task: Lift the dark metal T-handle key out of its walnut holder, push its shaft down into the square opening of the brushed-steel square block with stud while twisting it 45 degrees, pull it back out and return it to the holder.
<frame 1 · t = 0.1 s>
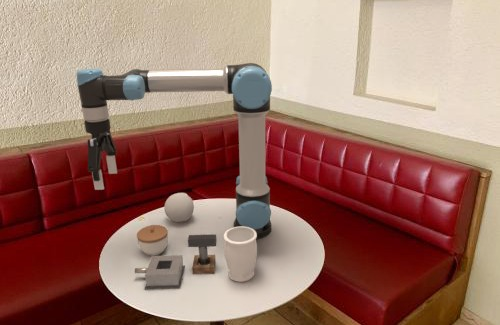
hand: (106, 180, 127), 28 cm above the table, fingers open, 13 cm apart
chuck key: (204, 267, 127), resting in key stand
square block with stud: (165, 277, 122), on the table
key stand: (204, 267, 127), on the table
jar: (241, 274, 124), on the table
lidded jar: (154, 251, 137), on the table
decorative ball: (180, 220, 158), on the table
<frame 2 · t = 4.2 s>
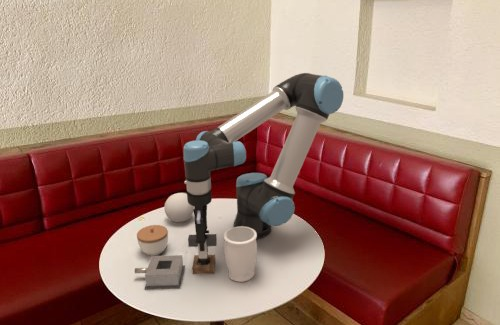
hand: (203, 254, 126), 5 cm above the table, fingers closed on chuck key, 3 cm apart
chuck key: (204, 267, 127), resting in key stand, touching gripper
everything else where it was.
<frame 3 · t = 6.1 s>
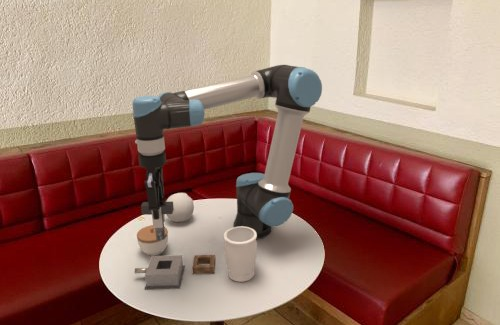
hand: (159, 224, 115), 20 cm above the table, fingers closed on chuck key, 3 cm apart
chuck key: (160, 238, 117), point 15 cm above the table, touching gripper
everything else where it was.
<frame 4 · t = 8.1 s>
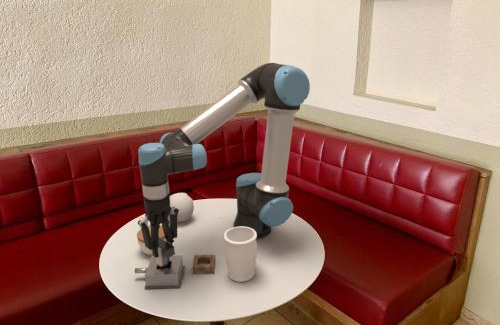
hand: (164, 261, 120), 6 cm above the table, fingers closed on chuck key, 3 cm apart
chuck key: (165, 274, 122), point 1 cm above the table, touching gripper
everything else where it was.
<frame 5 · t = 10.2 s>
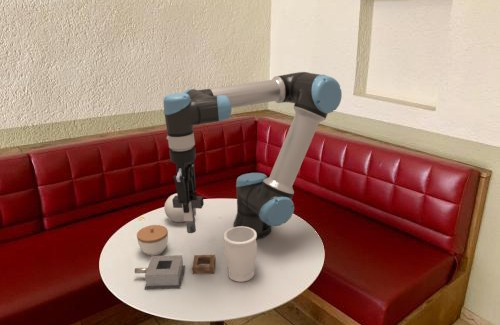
hand: (190, 217, 119), 20 cm above the table, fingers closed on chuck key, 3 cm apart
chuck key: (191, 230, 121), point 15 cm above the table, touching gripper
everything else where it was.
when the fingers open (6 cm above the table, at t = 12.3 s): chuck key drops 1 cm, resting in key stand.
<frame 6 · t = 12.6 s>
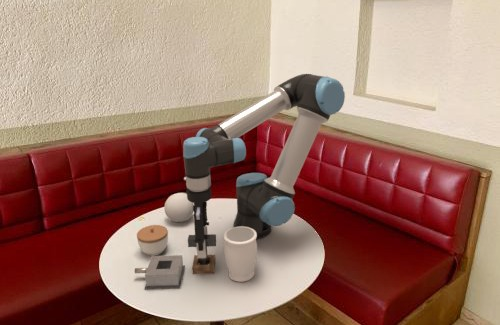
hand: (203, 250, 125), 7 cm above the table, fingers open, 7 cm apart
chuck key: (204, 267, 127), resting in key stand
everything else where it was.
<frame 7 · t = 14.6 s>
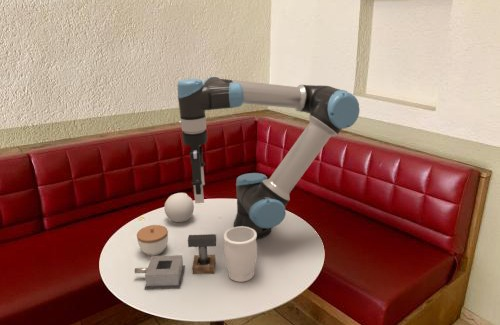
hand: (200, 193, 123), 25 cm above the table, fingers open, 13 cm apart
nothing on the table moved.
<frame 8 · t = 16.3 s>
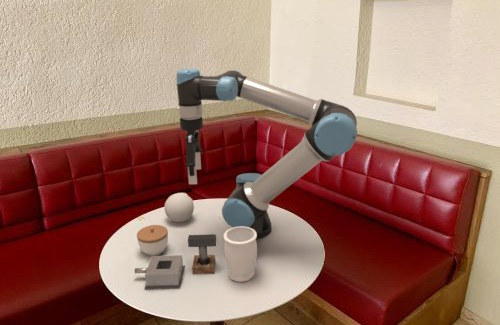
hand: (195, 176, 133), 27 cm above the table, fingers open, 13 cm apart
nothing on the table moved.
at the end: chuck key 0.0 cm off-centre on the key stand, point 0.0 cm above the key stand's base; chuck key tilted 0°; the gripper is holding nothing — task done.
